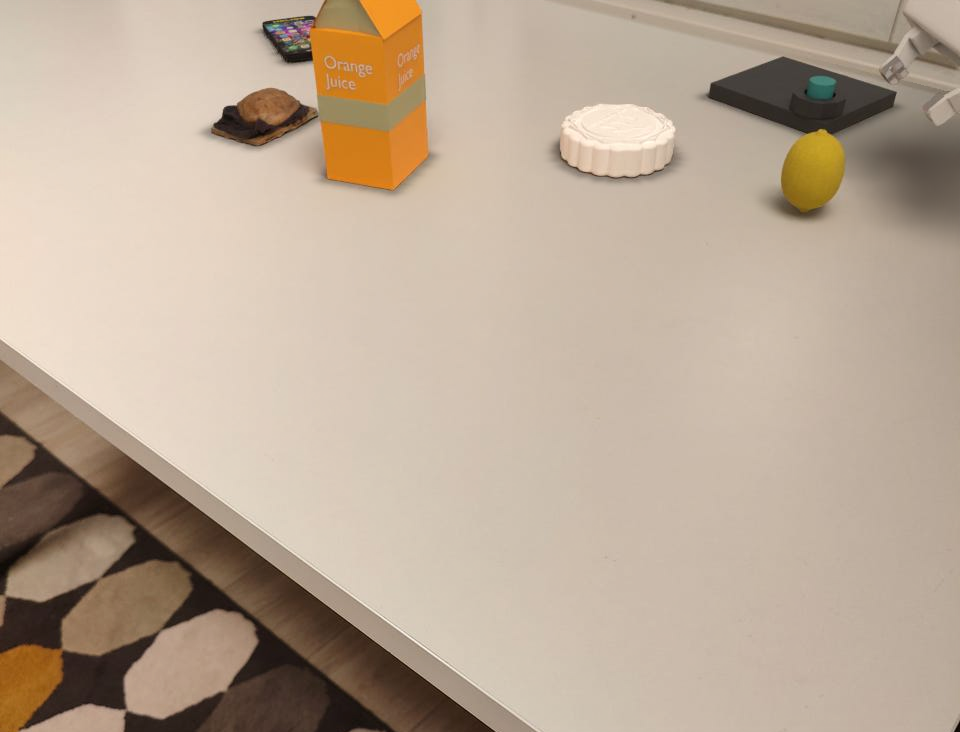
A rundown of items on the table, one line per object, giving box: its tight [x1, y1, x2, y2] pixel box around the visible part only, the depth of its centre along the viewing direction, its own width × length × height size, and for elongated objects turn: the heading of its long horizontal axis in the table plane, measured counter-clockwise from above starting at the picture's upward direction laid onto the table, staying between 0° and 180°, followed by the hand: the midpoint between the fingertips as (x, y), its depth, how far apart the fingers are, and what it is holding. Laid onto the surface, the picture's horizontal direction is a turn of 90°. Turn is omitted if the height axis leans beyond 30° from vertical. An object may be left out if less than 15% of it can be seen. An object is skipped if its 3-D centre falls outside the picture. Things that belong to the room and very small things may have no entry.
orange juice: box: [309, 0, 429, 191], centre depth 92 cm, size 8×9×20 cm
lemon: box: [780, 129, 846, 214], centre depth 88 cm, size 6×6×8 cm
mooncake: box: [559, 103, 677, 178], centre depth 100 cm, size 12×12×4 cm
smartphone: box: [261, 15, 317, 62], centre depth 128 cm, size 8×1×15 cm
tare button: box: [806, 76, 836, 99], centre depth 104 cm, size 3×3×2 cm
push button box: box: [708, 55, 898, 135], centre depth 110 cm, size 16×14×4 cm
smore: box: [210, 87, 319, 147], centre depth 107 cm, size 11×8×4 cm
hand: (905, 97), depth 84 cm, fingers open, 8 cm apart
